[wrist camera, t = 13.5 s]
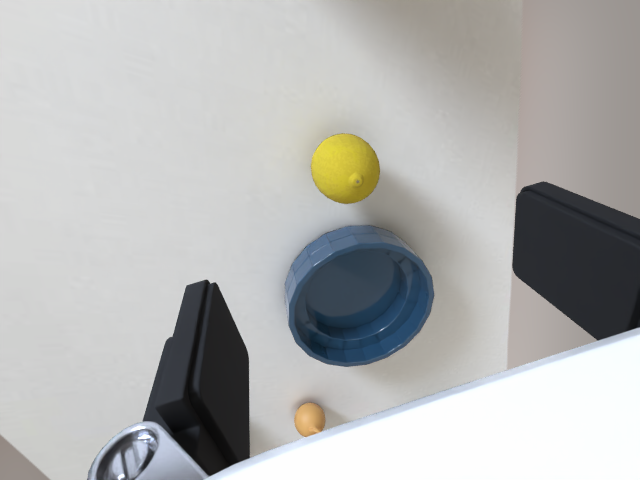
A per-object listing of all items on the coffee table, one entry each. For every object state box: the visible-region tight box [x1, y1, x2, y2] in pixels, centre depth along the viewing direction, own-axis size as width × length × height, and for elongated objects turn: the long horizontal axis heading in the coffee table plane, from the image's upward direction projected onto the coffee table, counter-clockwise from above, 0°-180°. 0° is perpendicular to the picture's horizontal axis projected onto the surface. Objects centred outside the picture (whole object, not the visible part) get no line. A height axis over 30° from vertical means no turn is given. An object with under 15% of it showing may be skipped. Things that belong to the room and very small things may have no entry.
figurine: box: [294, 403, 325, 437], centre depth 41 cm, size 8×6×12 cm
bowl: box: [285, 226, 434, 367], centre depth 37 cm, size 15×15×4 cm
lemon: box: [311, 134, 380, 204], centre depth 29 cm, size 6×6×8 cm
